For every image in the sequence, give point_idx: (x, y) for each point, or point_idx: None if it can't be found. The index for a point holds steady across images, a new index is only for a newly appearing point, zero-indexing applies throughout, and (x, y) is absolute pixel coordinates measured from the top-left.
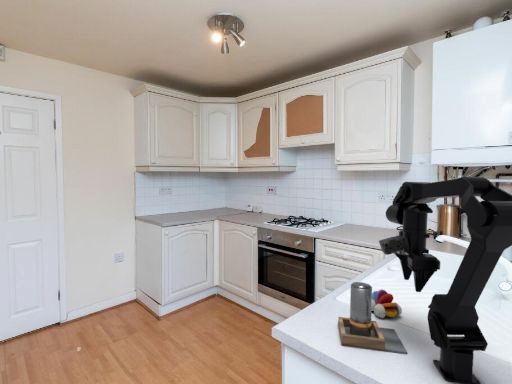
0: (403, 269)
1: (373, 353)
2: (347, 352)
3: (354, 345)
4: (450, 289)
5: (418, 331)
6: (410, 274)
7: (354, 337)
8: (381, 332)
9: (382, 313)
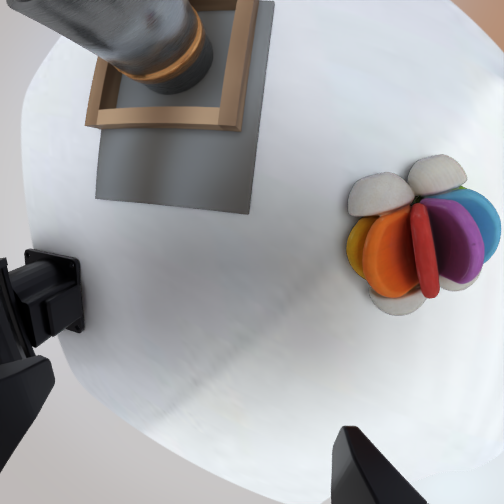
0: (369, 502)
1: None
2: None
3: None
4: None
5: (256, 313)
6: (334, 498)
7: None
8: (210, 146)
9: (349, 199)
